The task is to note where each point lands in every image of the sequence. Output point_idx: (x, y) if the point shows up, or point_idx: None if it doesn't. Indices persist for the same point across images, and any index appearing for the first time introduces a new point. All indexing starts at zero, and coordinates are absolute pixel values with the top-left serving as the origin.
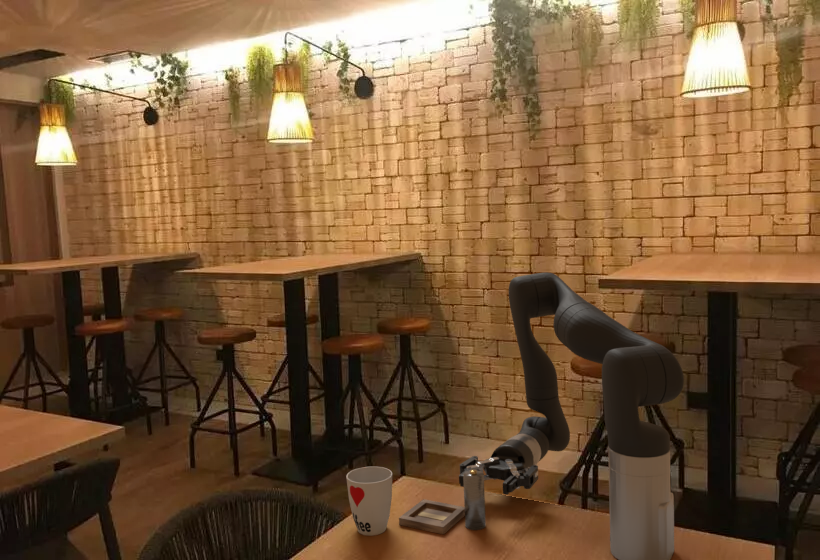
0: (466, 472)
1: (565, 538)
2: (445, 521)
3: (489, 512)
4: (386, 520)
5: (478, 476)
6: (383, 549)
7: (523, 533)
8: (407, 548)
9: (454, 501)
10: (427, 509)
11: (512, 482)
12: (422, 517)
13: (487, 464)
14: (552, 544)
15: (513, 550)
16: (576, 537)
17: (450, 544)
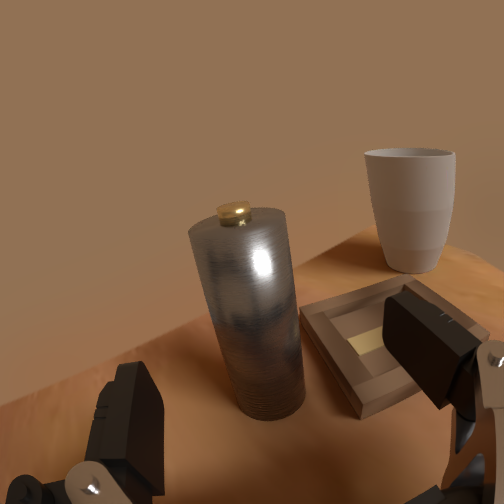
0: (275, 214)
1: (25, 444)
2: (321, 321)
3: (306, 489)
4: (385, 246)
5: (201, 224)
6: (331, 256)
7: None
8: (307, 272)
9: None
10: None
11: (102, 412)
12: None
13: (486, 486)
14: (49, 412)
15: (121, 362)
16: (6, 454)
17: None
